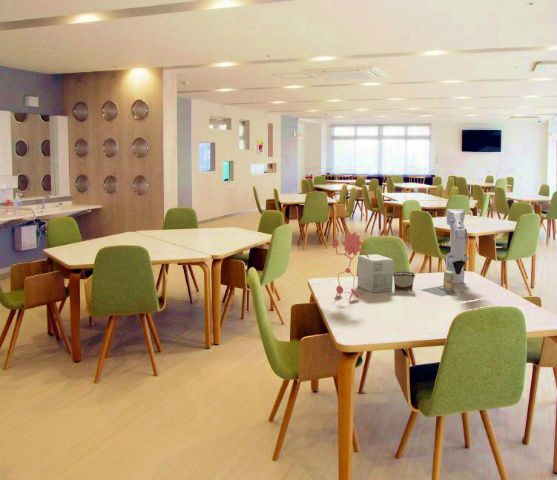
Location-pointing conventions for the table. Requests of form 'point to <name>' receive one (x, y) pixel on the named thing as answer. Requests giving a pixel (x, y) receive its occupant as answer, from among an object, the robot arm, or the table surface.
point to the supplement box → (375, 273)
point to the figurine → (351, 246)
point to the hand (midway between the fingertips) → (457, 274)
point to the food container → (403, 280)
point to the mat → (441, 291)
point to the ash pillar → (449, 280)
